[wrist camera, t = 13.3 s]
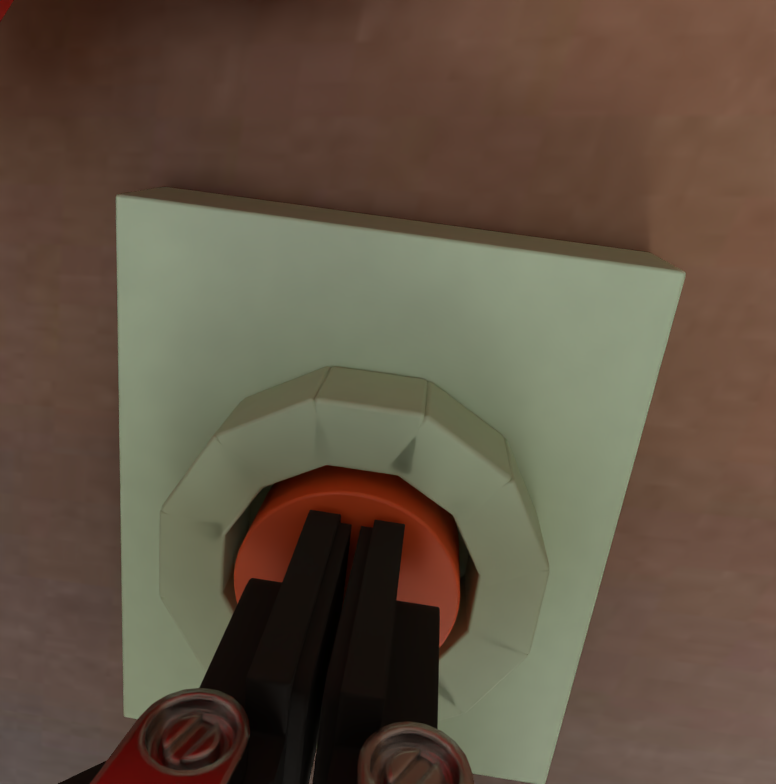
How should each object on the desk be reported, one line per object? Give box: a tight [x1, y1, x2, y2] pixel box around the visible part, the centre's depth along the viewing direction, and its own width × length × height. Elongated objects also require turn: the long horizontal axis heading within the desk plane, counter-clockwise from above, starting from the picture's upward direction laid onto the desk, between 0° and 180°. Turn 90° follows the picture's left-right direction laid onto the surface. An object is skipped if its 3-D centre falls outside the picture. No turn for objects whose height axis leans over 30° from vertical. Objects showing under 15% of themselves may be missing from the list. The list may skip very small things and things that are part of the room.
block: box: [116, 187, 686, 784], centre depth 14 cm, size 12×10×4 cm
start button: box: [234, 465, 460, 648], centre depth 13 cm, size 4×4×2 cm
